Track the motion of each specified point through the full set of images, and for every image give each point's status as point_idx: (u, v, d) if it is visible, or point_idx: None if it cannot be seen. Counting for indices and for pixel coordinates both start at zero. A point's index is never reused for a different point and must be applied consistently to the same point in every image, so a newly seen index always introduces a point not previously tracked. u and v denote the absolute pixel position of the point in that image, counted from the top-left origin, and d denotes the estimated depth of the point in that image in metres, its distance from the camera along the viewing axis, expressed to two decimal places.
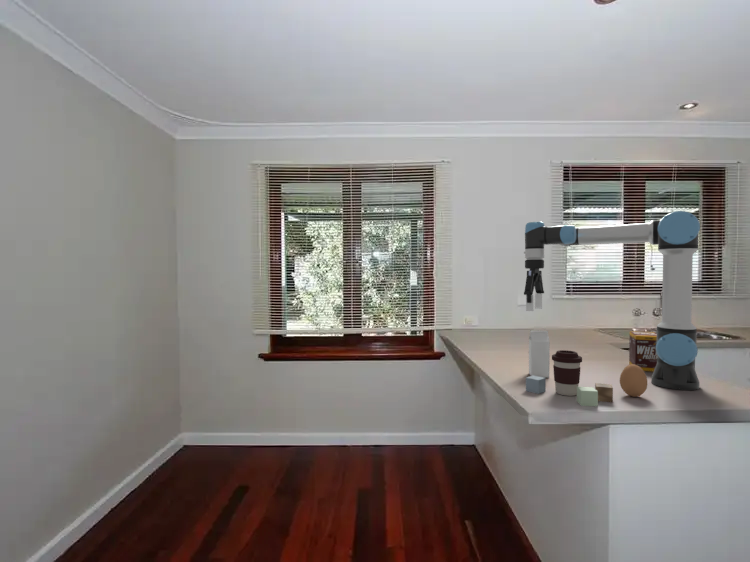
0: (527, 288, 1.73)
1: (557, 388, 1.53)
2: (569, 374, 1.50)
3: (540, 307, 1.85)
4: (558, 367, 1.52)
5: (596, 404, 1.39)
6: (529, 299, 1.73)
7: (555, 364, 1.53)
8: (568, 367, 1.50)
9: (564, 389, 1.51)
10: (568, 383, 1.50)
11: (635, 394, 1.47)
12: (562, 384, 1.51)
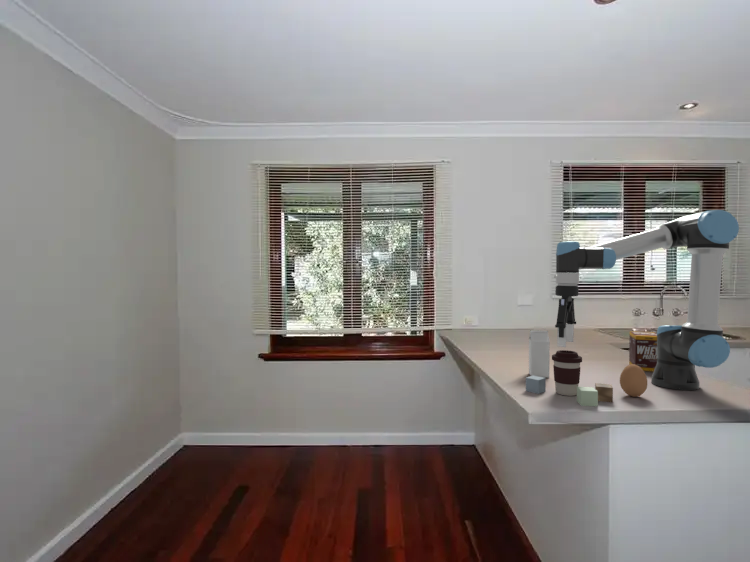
0: (559, 320, 1.46)
1: (557, 388, 1.53)
2: (569, 374, 1.50)
3: (571, 340, 1.58)
4: (558, 367, 1.52)
5: (596, 404, 1.39)
6: (561, 333, 1.47)
7: (555, 364, 1.53)
8: (568, 367, 1.50)
9: (564, 389, 1.51)
10: (568, 383, 1.50)
11: (635, 394, 1.47)
12: (562, 384, 1.51)
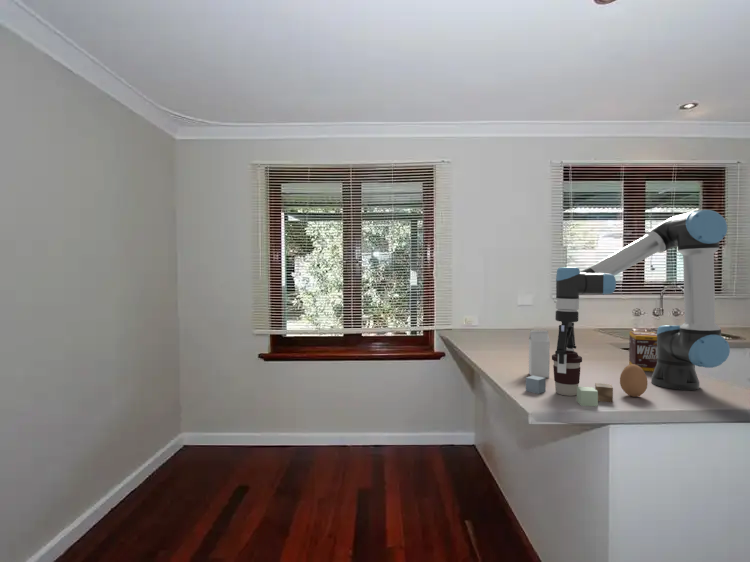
0: (560, 347, 1.46)
1: (557, 388, 1.53)
2: (569, 374, 1.50)
3: None
4: None
5: (596, 404, 1.39)
6: (562, 360, 1.47)
7: (555, 364, 1.53)
8: (568, 367, 1.50)
9: (564, 389, 1.51)
10: (568, 383, 1.50)
11: (635, 394, 1.47)
12: (562, 384, 1.51)
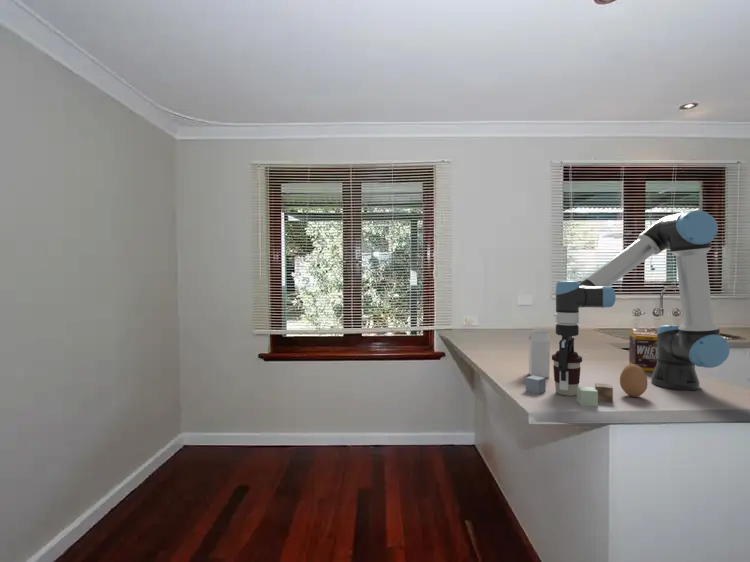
0: (561, 364, 1.47)
1: (557, 388, 1.53)
2: (569, 374, 1.50)
3: None
4: None
5: (596, 404, 1.39)
6: (564, 377, 1.48)
7: (555, 364, 1.53)
8: (568, 367, 1.50)
9: None
10: (568, 383, 1.50)
11: (635, 394, 1.47)
12: None
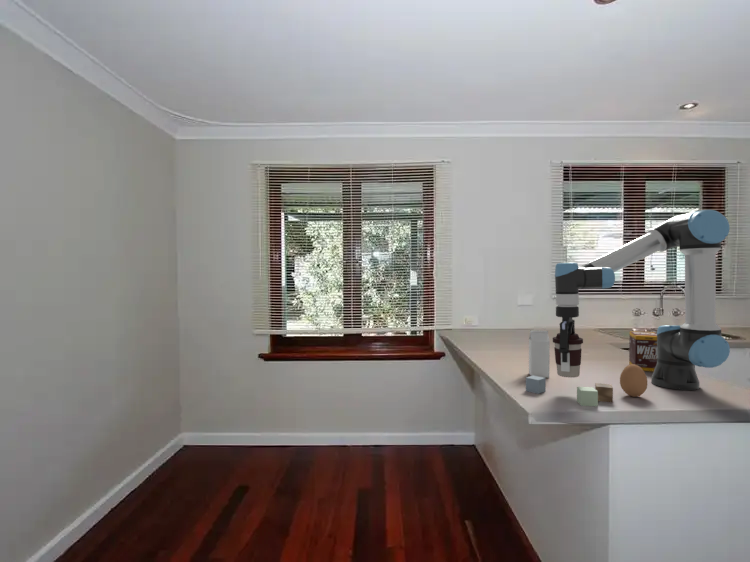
0: (562, 346, 1.47)
1: (559, 370, 1.53)
2: (570, 356, 1.49)
3: None
4: None
5: (596, 404, 1.39)
6: (565, 358, 1.48)
7: (556, 346, 1.53)
8: (569, 349, 1.49)
9: (565, 371, 1.51)
10: None
11: (635, 394, 1.47)
12: None
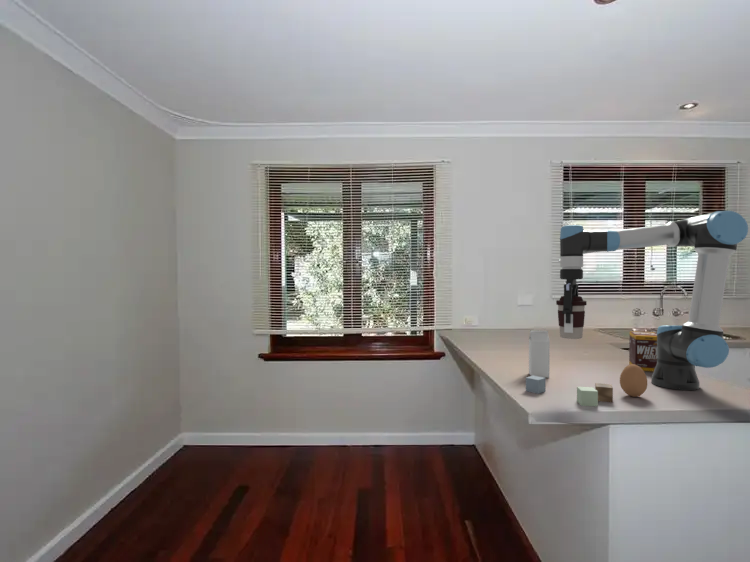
0: (566, 307, 1.48)
1: (562, 332, 1.54)
2: (574, 317, 1.50)
3: None
4: None
5: (596, 404, 1.39)
6: (568, 319, 1.49)
7: (559, 308, 1.54)
8: (573, 310, 1.50)
9: None
10: (573, 326, 1.51)
11: (635, 394, 1.47)
12: None
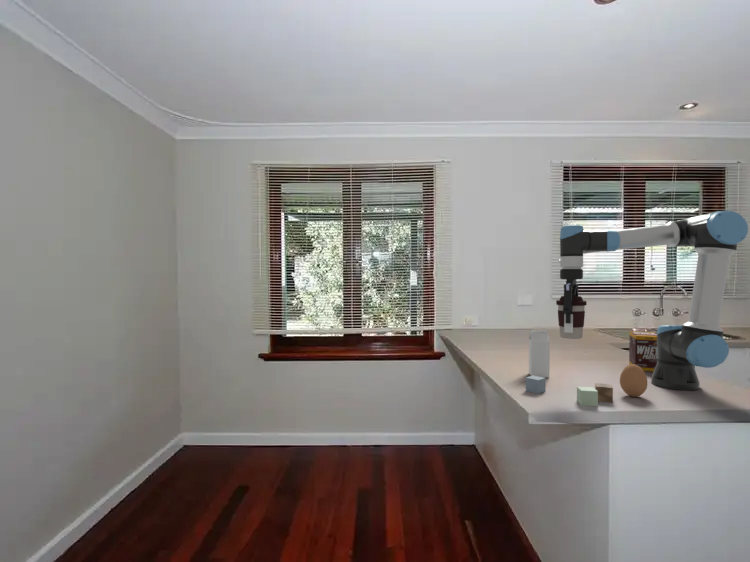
0: (566, 306, 1.48)
1: (562, 332, 1.54)
2: (574, 317, 1.50)
3: None
4: None
5: (596, 404, 1.39)
6: (568, 319, 1.49)
7: (559, 308, 1.54)
8: (573, 310, 1.50)
9: None
10: (573, 326, 1.51)
11: (635, 394, 1.47)
12: None
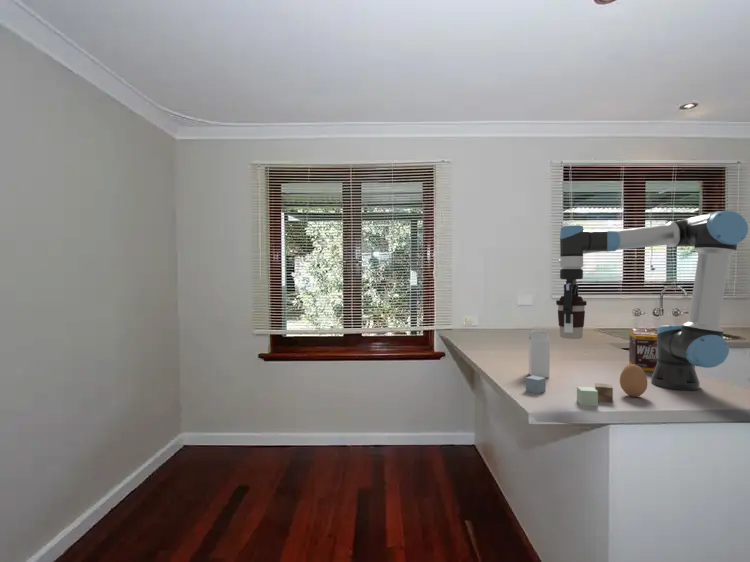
0: (566, 306, 1.48)
1: (562, 332, 1.54)
2: (574, 317, 1.50)
3: None
4: None
5: (596, 404, 1.39)
6: (568, 319, 1.49)
7: (559, 308, 1.54)
8: (573, 310, 1.50)
9: None
10: (573, 326, 1.51)
11: (635, 394, 1.47)
12: None
